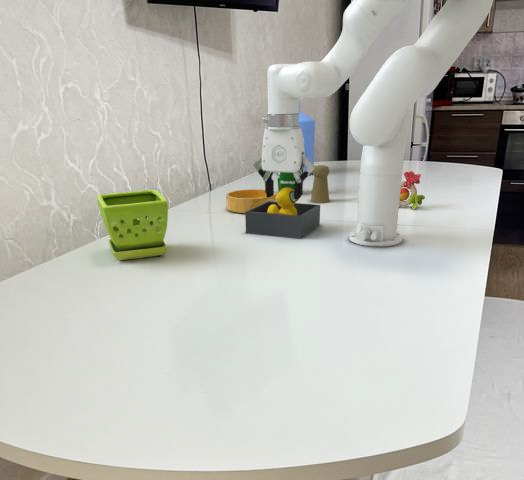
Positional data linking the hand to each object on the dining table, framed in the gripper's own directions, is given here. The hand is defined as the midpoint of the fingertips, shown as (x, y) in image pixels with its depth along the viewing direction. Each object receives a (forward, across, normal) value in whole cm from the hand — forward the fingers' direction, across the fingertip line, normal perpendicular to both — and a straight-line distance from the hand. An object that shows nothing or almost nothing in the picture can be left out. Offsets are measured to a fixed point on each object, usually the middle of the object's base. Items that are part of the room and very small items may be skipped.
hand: (283, 196), depth 134 cm
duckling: (+8, 0, 0) cm, 8 cm away
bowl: (+8, -19, +20) cm, 29 cm away
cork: (+9, -3, +38) cm, 39 cm away
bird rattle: (+9, +25, +37) cm, 45 cm away
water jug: (+8, -32, +90) cm, 96 cm away
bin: (+8, 0, 0) cm, 8 cm away
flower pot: (+8, -23, -32) cm, 40 cm away
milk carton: (+8, -17, +47) cm, 51 cm away
